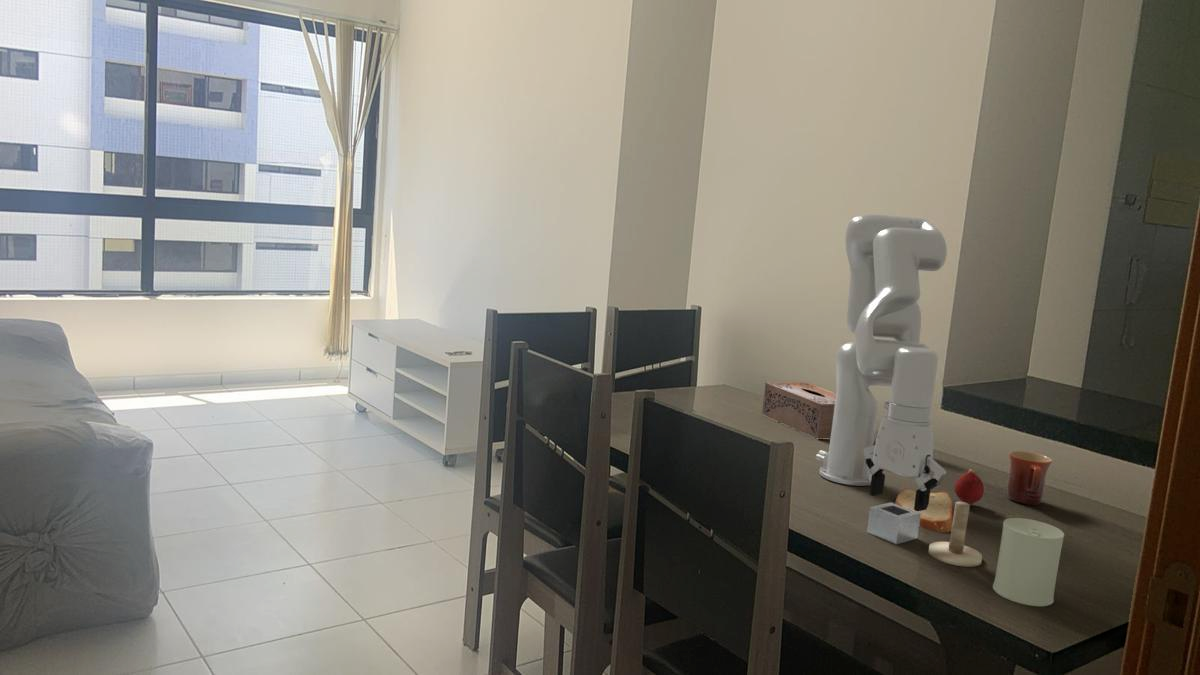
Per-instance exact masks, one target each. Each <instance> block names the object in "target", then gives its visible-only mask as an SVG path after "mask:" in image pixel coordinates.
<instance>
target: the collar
mask: <svg viewBox="0 0 1200 675" xmlns="http://www.w3.org/2000/svg"><path fill="white" fill-rule="evenodd" d="M920 516H921V513H918V512H916V511H913V510H910V509H908V508H905V507H902V506H900V505H897V504H895V503H894V502H887V503H883V504H879V505H878V504H877V505H874V506H870V507H869V514H868V521H867V530H866V533H868V534H871V535H872V536H876V537H878V538H879V539H882V540H885V541H887V542H890V543H893V544H895V545H899V544H903V543H905V542H909V541H914V540H917V539H918V536H919V528H920V526H919V523H920Z"/></svg>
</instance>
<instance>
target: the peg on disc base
mask: <svg viewBox="0 0 1200 675" xmlns="http://www.w3.org/2000/svg"><path fill="white" fill-rule="evenodd" d="M970 506H971V504H970V505H969V504H968V503H965V502H962V501H956V502H954V514H953V523H952V529H951V531H950V537H949V541H934V542H931V543H930V544H929V546H928V554H929V555H930V556H931V557H932V558H934V559H936V560H938V561H940V562H943V563H946V564H949V565H953V566H957V567H967V568H968V567H969V568H973V567H974V568H975V567H979V566H980V565H981V564H982V560H983V555H982V554H981V552H979V551H978V550H976V549H974V548H972V547H970V546H968V545H965V540H966V539H965V538H966V532H967V526H968V518H969V513H970V508H971V507H970Z"/></svg>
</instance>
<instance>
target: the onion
mask: <svg viewBox="0 0 1200 675" xmlns="http://www.w3.org/2000/svg"><path fill="white" fill-rule="evenodd" d="M954 484H955V485H954V492H955V494H956V496H957V498H959V500H960V502H965V503H968V504H969V505H970V506H971V505H972V504H975V503H977V502H979V501H980V500H981V499H982V498H983V496H984V492H985V487H984V486H985V485H984V483H983V481H982V480H981V479H980V477H979V476H978V475H977V474H976V473H975V472H974V470H973V469H971V468H968V470H967V473H965V474H963V475H961V476H959V477H958V478H957V480H956V481H955V483H954Z"/></svg>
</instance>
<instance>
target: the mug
mask: <svg viewBox="0 0 1200 675" xmlns="http://www.w3.org/2000/svg"><path fill="white" fill-rule="evenodd" d="M1008 456H1009V463H1010V465H1009V466H1010V468H1009V475H1008V479H1007V483H1006V484H1007V485H1006V496H1007V497H1008V499H1009V500H1010V501H1012V502H1015V503H1017V504H1020V503H1021V504H1022V505H1025V504H1026V506H1037V505H1039V504H1040V503H1042V500H1043V497H1044V495H1045V493H1044V492H1045V487H1046V479H1047V473H1048V471H1049V469H1050V467H1051V465H1052V463H1053V459H1052V458H1051V457H1049V456H1047V455H1043V454H1040V453H1037V452H1032V451H1024V450H1012V451H1009V452H1008ZM1021 504H1020V505H1021Z"/></svg>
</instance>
